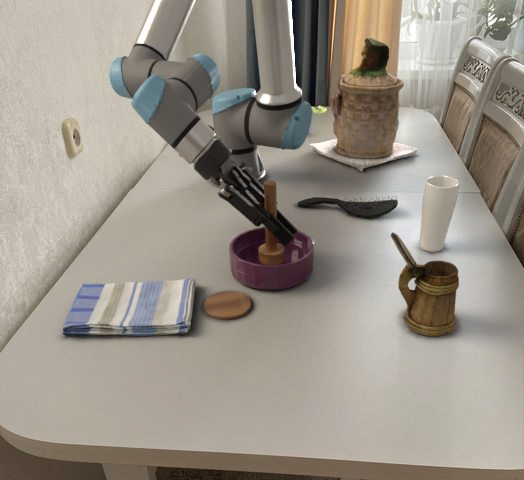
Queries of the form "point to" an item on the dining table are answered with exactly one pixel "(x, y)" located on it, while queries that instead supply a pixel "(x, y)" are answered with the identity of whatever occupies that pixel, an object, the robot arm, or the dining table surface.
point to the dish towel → (132, 308)
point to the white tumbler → (437, 211)
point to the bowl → (270, 276)
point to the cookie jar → (366, 113)
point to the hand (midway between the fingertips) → (291, 237)
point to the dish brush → (271, 249)
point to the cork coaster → (227, 305)
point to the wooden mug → (428, 293)
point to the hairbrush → (356, 206)
